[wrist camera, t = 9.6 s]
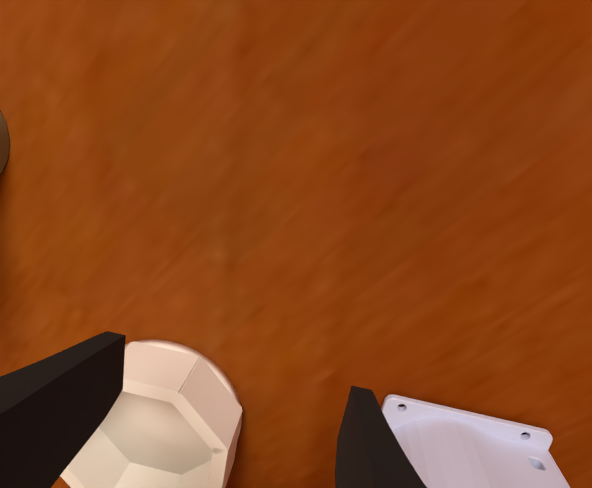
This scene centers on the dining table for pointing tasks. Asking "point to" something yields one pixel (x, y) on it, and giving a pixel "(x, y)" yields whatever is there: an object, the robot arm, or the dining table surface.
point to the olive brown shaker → (3, 143)
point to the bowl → (163, 424)
